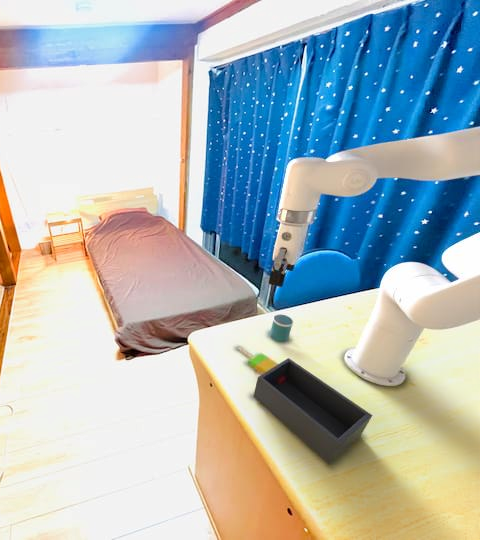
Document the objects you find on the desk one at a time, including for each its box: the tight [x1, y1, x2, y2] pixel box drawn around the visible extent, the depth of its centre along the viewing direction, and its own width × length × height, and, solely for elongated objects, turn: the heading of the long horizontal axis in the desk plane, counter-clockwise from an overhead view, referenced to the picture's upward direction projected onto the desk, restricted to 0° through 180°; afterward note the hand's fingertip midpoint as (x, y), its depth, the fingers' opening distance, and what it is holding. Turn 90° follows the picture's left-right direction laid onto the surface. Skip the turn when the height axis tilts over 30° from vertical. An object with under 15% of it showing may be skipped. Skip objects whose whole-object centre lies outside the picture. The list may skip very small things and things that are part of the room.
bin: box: [252, 357, 373, 465], centre depth 65 cm, size 12×19×8 cm, turn 28°
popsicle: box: [237, 346, 285, 383], centre depth 80 cm, size 6×3×15 cm
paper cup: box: [269, 314, 294, 343], centre depth 88 cm, size 5×5×7 cm
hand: (281, 276), depth 73 cm, fingers open, 9 cm apart
